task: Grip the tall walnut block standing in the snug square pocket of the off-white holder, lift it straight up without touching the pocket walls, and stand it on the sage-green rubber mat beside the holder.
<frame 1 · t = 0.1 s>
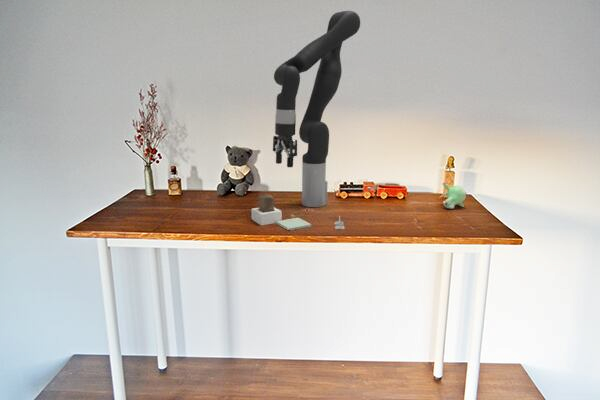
hand: (284, 165, 180), 17 cm above the table, tool pointing down, fingers open, 8 cm apart
walnut block: (266, 208, 169), in the pocket holder
green mat: (293, 225, 165), on the table
grey eared piece: (339, 225, 168), on the table
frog: (451, 207, 189), on the table
pocket holder: (266, 220, 170), on the table
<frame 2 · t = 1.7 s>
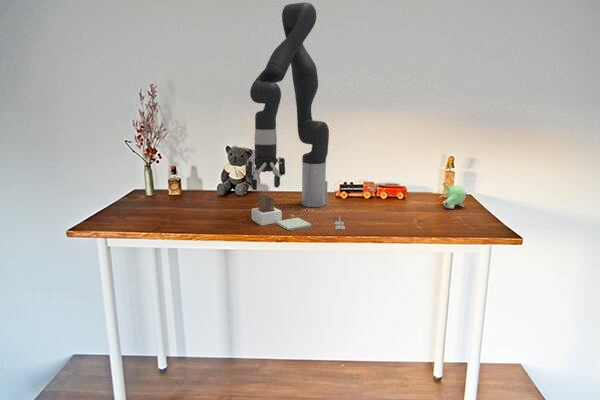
hand: (265, 188, 167), 12 cm above the table, tool pointing down, fingers open, 8 cm apart
nothing on the table moved.
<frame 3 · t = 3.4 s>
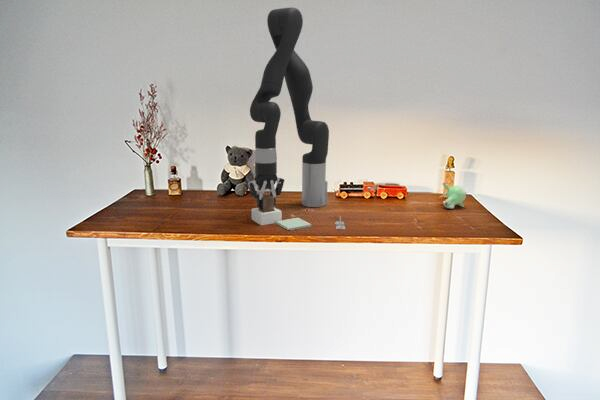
hand: (266, 207, 169), 5 cm above the table, tool pointing down, fingers closed on walnut block, 4 cm apart
walnut block: (266, 208, 169), in the pocket holder, touching gripper
everything else where it was.
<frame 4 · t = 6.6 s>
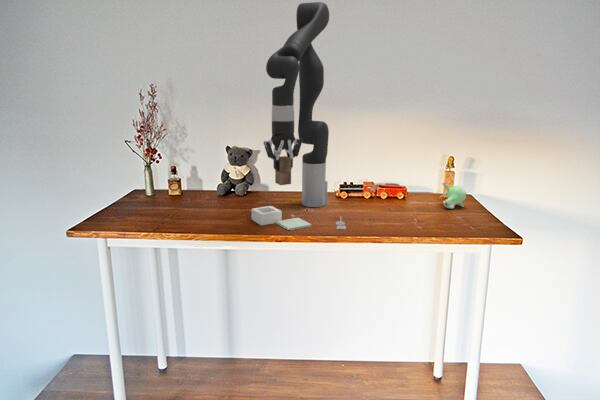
hand: (283, 169, 162), 19 cm above the table, tool pointing down, fingers closed on walnut block, 4 cm apart
walnut block: (283, 170, 162), point 19 cm above the table, touching gripper
everything else where it was.
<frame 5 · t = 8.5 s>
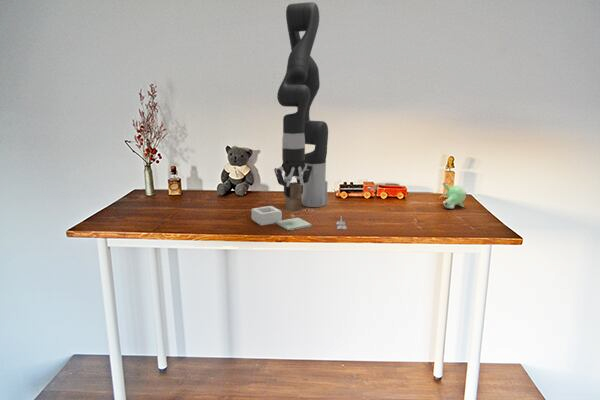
hand: (293, 195, 163), 10 cm above the table, tool pointing down, fingers closed on walnut block, 4 cm apart
walnut block: (293, 196, 163), point 10 cm above the table, touching gripper
everything else where it was.
when the fingers open (7 cm above the table, at t = 10.0 s): walnut block drops 1 cm, resting on green mat.
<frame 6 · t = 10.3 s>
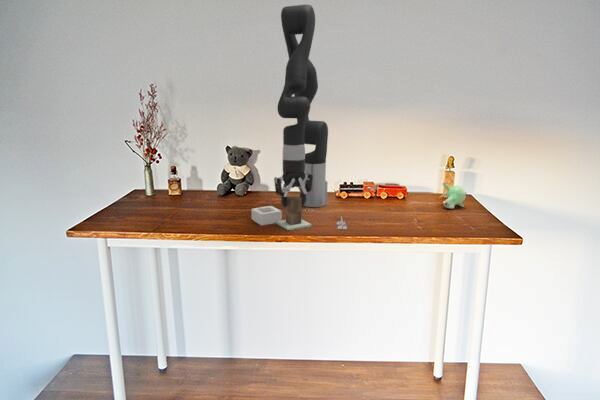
hand: (293, 205, 164), 7 cm above the table, tool pointing down, fingers open, 6 cm apart
walnut block: (293, 210, 164), on the green mat, point 5 cm above the table
everything else where it was.
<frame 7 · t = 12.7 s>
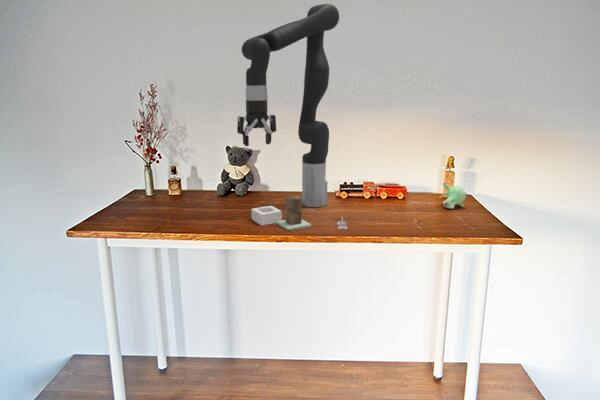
hand: (257, 145, 170), 26 cm above the table, tool pointing down, fingers open, 8 cm apart
nothing on the table moved.
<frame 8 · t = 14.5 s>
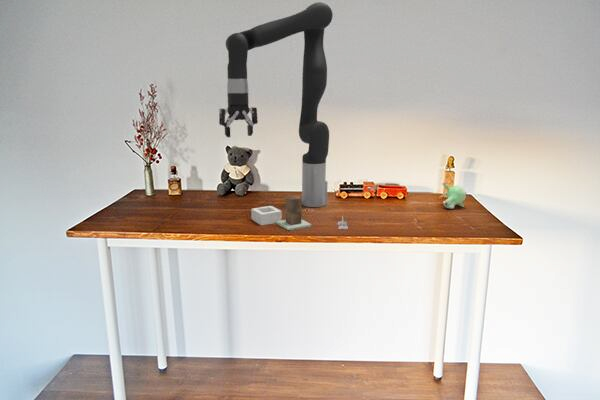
hand: (239, 136, 177), 28 cm above the table, tool pointing down, fingers open, 8 cm apart
nothing on the table moved.
at the end: walnut block 0.0 cm off-centre on the green mat, point 5.3 cm above the green mat's base; walnut block tilted 0°; walnut block touching green mat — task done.
